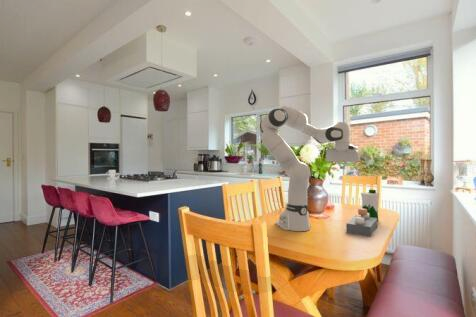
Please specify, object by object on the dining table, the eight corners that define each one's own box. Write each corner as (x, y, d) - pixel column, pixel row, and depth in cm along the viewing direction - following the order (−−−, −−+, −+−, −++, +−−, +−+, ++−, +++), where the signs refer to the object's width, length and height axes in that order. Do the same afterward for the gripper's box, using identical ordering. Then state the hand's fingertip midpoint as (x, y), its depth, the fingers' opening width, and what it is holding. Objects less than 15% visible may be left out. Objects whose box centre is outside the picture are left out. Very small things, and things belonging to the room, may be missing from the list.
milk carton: (380, 221, 164) (380, 190, 164) (369, 222, 161) (369, 191, 161) (369, 218, 172) (369, 189, 172) (359, 219, 169) (359, 189, 169)
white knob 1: (363, 232, 136) (363, 219, 136) (354, 230, 139) (354, 218, 139) (365, 230, 140) (365, 217, 140) (356, 228, 143) (356, 216, 143)
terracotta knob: (366, 222, 143) (366, 210, 143) (357, 221, 145) (357, 209, 145) (367, 220, 146) (367, 209, 146) (359, 219, 149) (359, 208, 149)
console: (370, 236, 133) (370, 226, 133) (346, 232, 140) (346, 223, 140) (377, 226, 152) (377, 218, 152) (355, 223, 159) (355, 215, 159)
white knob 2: (368, 225, 149) (368, 214, 149) (360, 224, 152) (360, 213, 152) (370, 224, 153) (370, 212, 153) (361, 223, 156) (361, 211, 155)
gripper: (324, 147, 166) (324, 168, 166) (358, 146, 154) (358, 169, 154) (327, 147, 171) (327, 168, 171) (360, 147, 159) (360, 169, 159)
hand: (342, 169), depth 162 cm, fingers closed
